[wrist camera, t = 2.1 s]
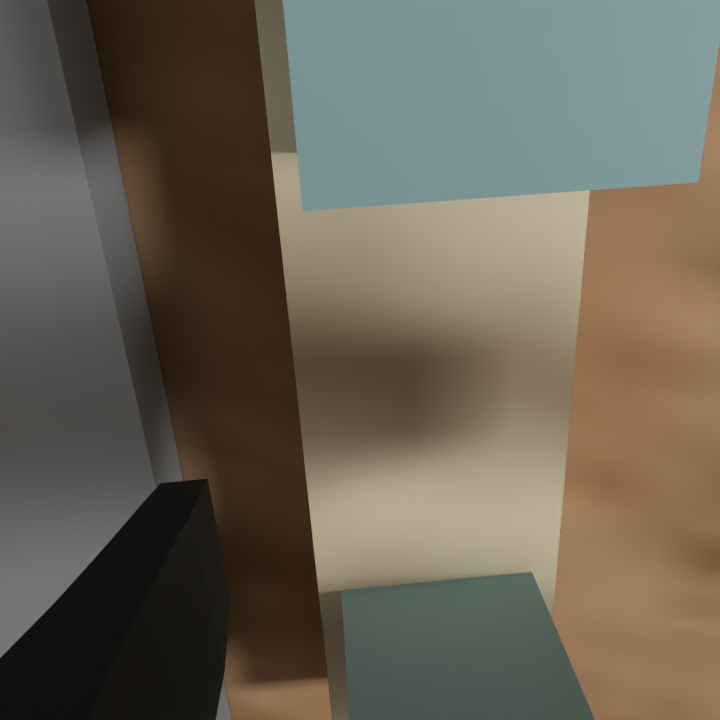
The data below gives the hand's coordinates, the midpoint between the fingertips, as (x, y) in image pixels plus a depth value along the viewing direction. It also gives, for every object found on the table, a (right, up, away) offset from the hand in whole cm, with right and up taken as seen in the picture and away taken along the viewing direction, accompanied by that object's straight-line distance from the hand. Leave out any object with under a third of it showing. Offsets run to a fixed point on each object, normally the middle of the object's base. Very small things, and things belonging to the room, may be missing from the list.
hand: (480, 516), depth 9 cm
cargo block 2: (0, -4, +6) cm, 7 cm away
